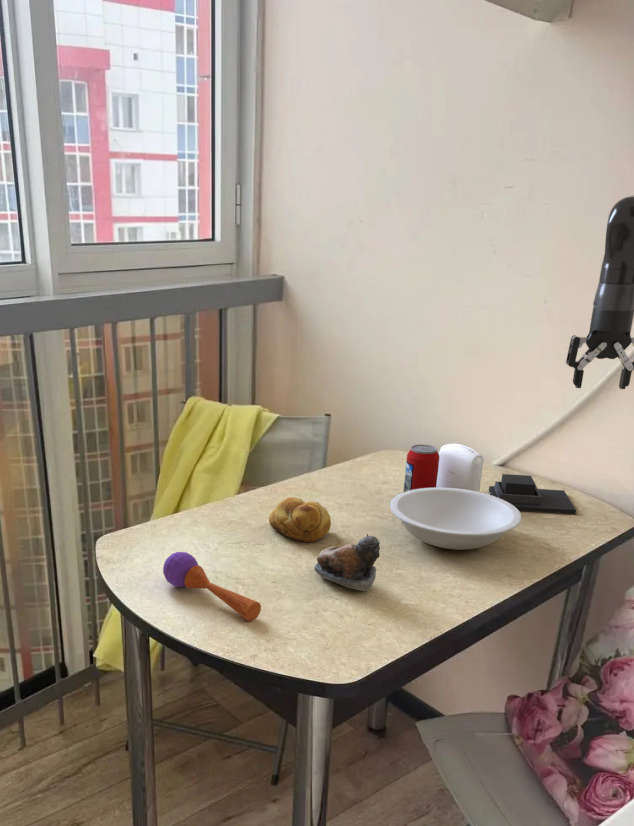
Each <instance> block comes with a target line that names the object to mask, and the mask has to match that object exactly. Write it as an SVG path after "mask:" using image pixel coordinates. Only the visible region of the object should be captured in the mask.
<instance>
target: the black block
mask: <svg viewBox="0 0 634 826" xmlns="http://www.w3.org/2000/svg"><path fill="white" fill-rule="evenodd" d="M500 482H501V486H500V487H501V490H502V492H503V494H516V495H533V496H534V493H535V487H537V484H536V482H535V481H534V479H533V477H532V475H528V474H527V475H526V474H525V475H524V474H510V473H509V474H507V473H502V474H501V480H500Z"/></svg>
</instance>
